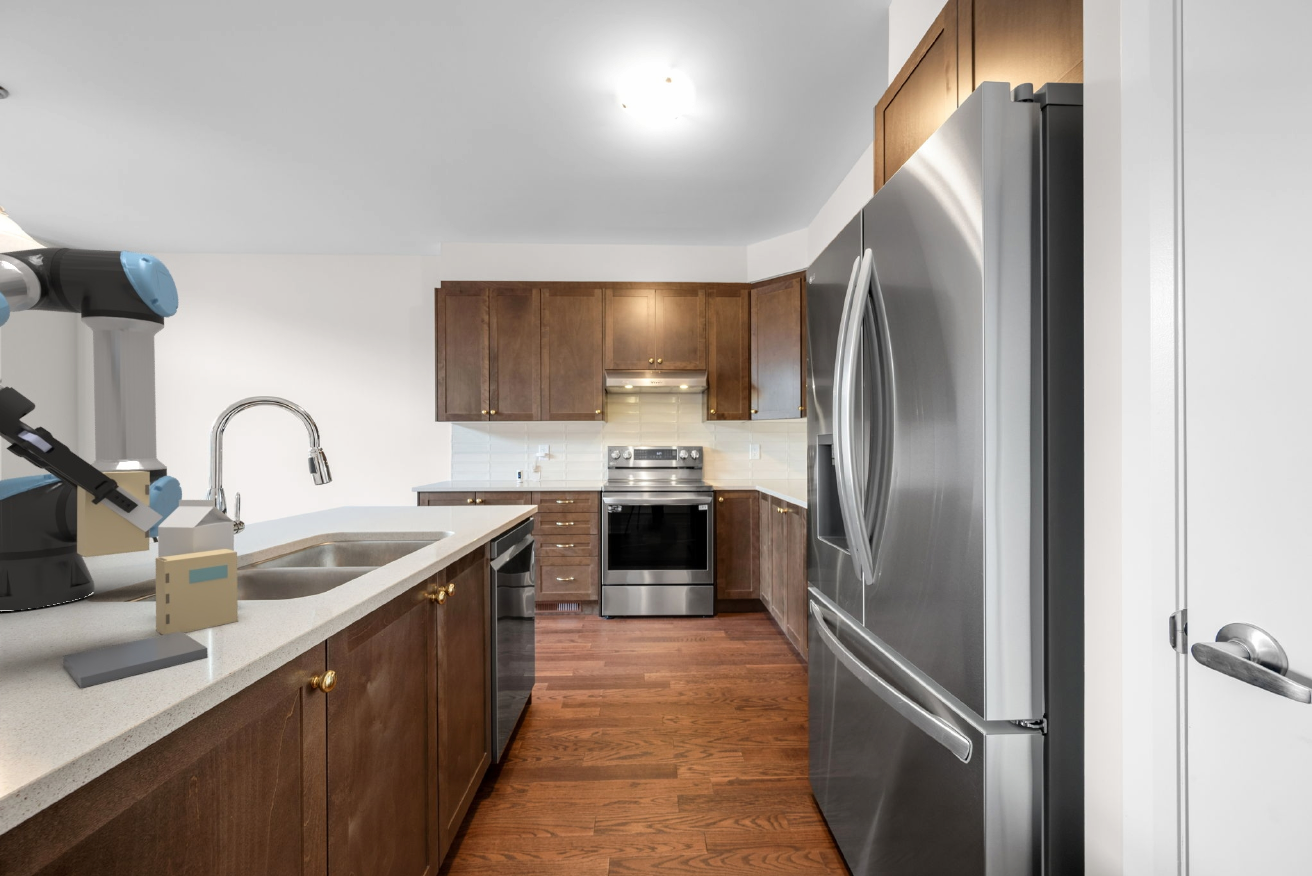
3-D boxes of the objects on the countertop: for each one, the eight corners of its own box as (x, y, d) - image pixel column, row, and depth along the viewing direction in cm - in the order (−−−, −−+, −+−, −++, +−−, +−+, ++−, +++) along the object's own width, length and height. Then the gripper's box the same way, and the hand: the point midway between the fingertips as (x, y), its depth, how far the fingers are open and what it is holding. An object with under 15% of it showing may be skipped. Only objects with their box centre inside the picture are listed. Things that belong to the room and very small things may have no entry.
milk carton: (194, 621, 93) (193, 502, 93) (158, 619, 94) (157, 501, 95) (234, 609, 100) (233, 497, 100) (200, 607, 101) (199, 497, 101)
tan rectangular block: (77, 552, 81) (77, 473, 81) (139, 546, 86) (139, 471, 86) (85, 557, 77) (85, 473, 77) (149, 550, 82) (149, 471, 82)
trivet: (63, 665, 75) (63, 655, 75) (180, 639, 84) (180, 631, 84) (80, 688, 67) (80, 677, 67) (207, 657, 77) (207, 648, 77)
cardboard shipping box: (156, 630, 89) (155, 557, 89) (226, 615, 96) (226, 548, 96) (165, 636, 86) (164, 561, 86) (237, 621, 93) (237, 551, 93)
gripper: (-62, 427, 75) (109, 538, 88) (-59, 421, 64) (139, 550, 76) (-1, 389, 80) (155, 500, 92) (14, 376, 68) (190, 505, 80)
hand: (147, 522), depth 84 cm, fingers closed on tan rectangular block, 6 cm apart
